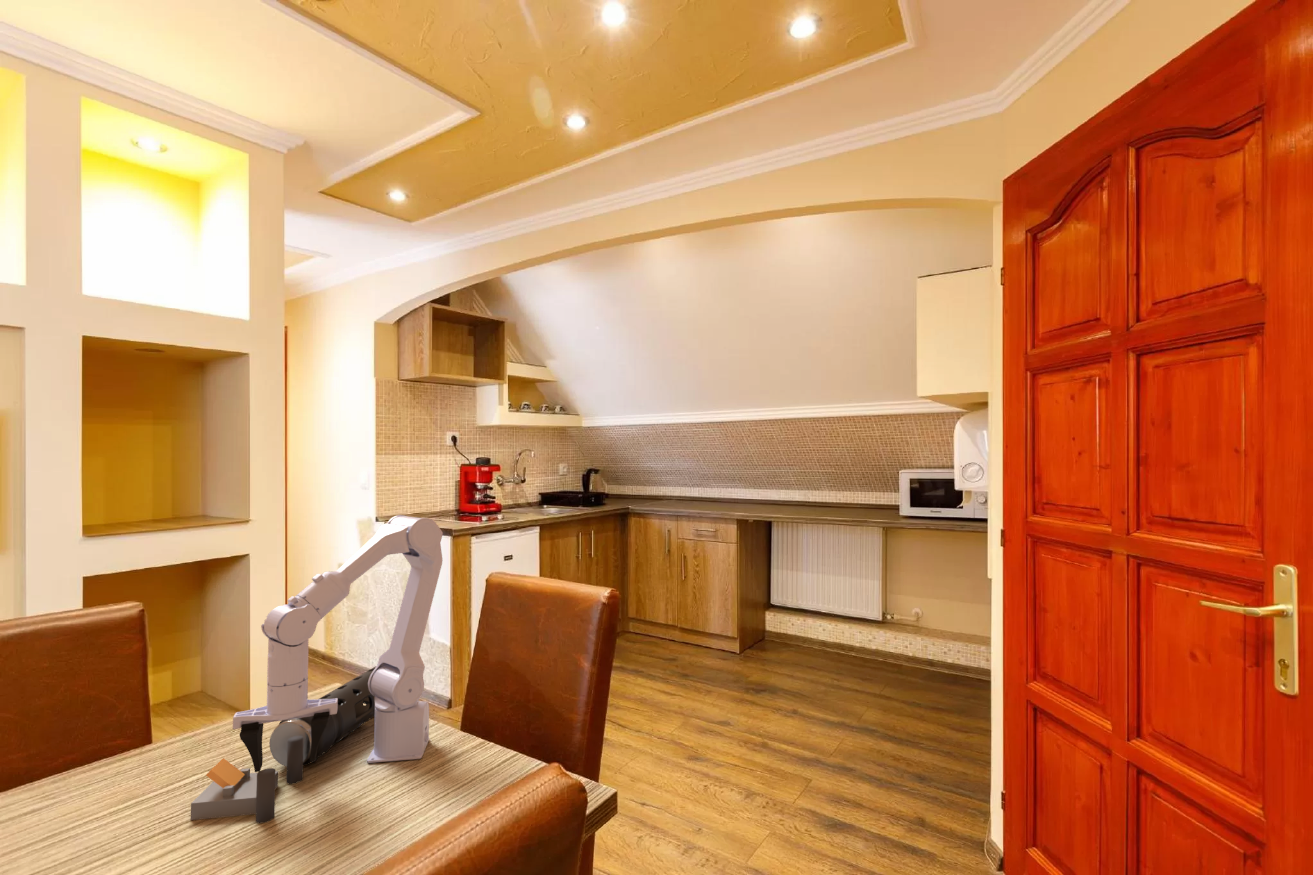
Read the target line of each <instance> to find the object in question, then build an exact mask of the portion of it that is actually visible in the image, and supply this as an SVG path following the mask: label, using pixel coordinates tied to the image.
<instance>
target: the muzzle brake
mask: <svg viewBox="0 0 1313 875" xmlns="http://www.w3.org/2000/svg"><path fill="white" fill-rule="evenodd" d="M376 666H377V665H376ZM376 666H373V667H371V668H370V669H369V670H366V671H364V673H361V674H359V675H358V676H356V677H354V678H352V679H351V680H349V681H347V682H346V683H344V684H342V685H340V686H339V687H337V688H335V689H333V690H331V691H330V692H328V693H327V694H325V695H323V696H321V697H320V698H318V699H335V698H338V710H337V714H332V715H330V717H329V721H328V723H327V725H326V727H325V729H324V732H323V734H322V736H321V739H320V741H319V744H318V747H317V754H316V760H318V759H319V758H320V757H322V756H323V755H324V754H325V753H327V752H328V751H329V750H330V749H331V748H332V747H333V746H334V745H336V744H337V743H338V742H340V741H341V740H342V739H344V738H346V737H347V736H348V735H349V734H351V733H352V732H354V731H356V730H357V729H359V728H360V727H361V726H362V725H364V724H365V723H366V722H368V721H369V720H371V719H372V718H373V717H374V718H375V702H374V699H375V696H374V695H372V694H371V693H370V691H369V689H368V680H369V677H370V675H371V673H372V672H373V670H374V669H375V668H376ZM312 718H313V716H309V717H302V718H295V719H288V720H282V721H279V723H278V724H277V726H276V727H275V728H274V729H273V731H272V732H271V735H270V737H269V750H270V754H271V756H272V757H273V759H274V760H275V761H276V762H277V763H278V764H279V765H281V766H282V767H285V768H287V740H288V739H289V738H291V737H294V736H303V737H304V742H303V766H306V765H309V764H311V763H310V752H311V721H312Z"/></svg>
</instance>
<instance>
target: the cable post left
mask: <svg viewBox="0 0 1313 875" xmlns="http://www.w3.org/2000/svg"><path fill="white" fill-rule="evenodd" d="M275 771H276V768H274V767H273V768H270V767H269V768H264V769H262V770H260V772H256V773H257V791H256V814H255V822H256V823H257V824H265V823H268V822H270V821H272V820H273V819H274V818H275V811H276V810H275V809H276V808H275V806H276V805H275V804H276V803H275V801H276V800H275V799H276V789H275Z"/></svg>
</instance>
